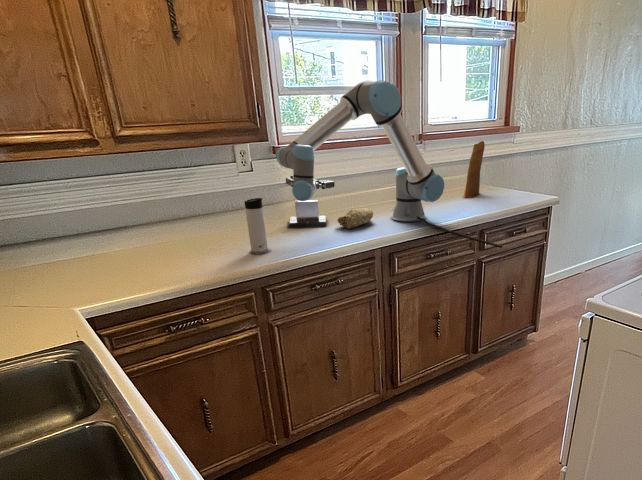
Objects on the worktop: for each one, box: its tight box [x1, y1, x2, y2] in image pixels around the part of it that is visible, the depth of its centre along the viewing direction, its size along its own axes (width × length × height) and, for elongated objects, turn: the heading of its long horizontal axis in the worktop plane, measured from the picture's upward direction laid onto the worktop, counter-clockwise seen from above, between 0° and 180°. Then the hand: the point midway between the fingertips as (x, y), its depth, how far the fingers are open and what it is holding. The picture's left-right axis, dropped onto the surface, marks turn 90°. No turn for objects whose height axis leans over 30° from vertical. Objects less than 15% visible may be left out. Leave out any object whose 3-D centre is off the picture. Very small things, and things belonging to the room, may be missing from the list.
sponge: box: [336, 207, 374, 230], centre depth 233 cm, size 13×8×20 cm
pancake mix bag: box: [463, 140, 486, 199], centre depth 284 cm, size 7×19×28 cm, turn 148°
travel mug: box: [244, 197, 269, 255], centre depth 193 cm, size 6×7×20 cm
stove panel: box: [289, 215, 327, 229], centre depth 236 cm, size 16×14×2 cm
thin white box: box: [294, 199, 320, 220], centre depth 233 cm, size 10×2×8 cm, turn 98°
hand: (312, 180), depth 224 cm, fingers open, 13 cm apart
